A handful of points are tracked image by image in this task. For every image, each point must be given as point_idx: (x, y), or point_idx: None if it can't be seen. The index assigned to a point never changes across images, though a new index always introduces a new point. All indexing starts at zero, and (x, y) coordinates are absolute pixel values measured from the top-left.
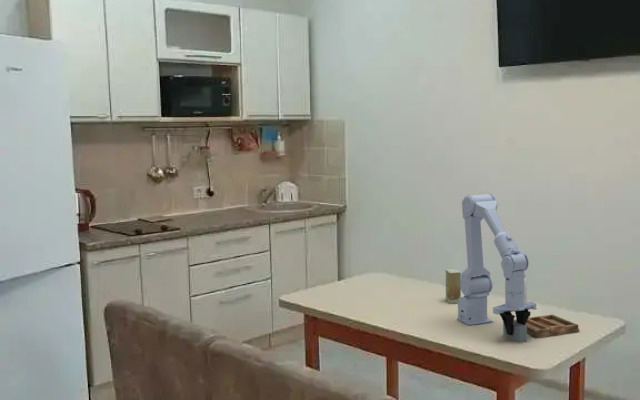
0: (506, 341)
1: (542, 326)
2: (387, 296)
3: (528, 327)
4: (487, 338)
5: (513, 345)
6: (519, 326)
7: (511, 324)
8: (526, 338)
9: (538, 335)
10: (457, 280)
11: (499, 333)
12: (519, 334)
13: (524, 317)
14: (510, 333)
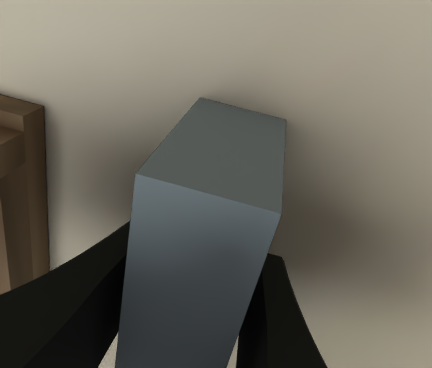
0: (351, 226)
1: None
2: None
3: (3, 259)
4: (401, 356)
5: (419, 105)
6: (240, 248)
7: (294, 356)
8: (196, 109)
9: (7, 108)
10: None
11: None
12: (283, 165)
13: (18, 357)
14: (286, 270)
